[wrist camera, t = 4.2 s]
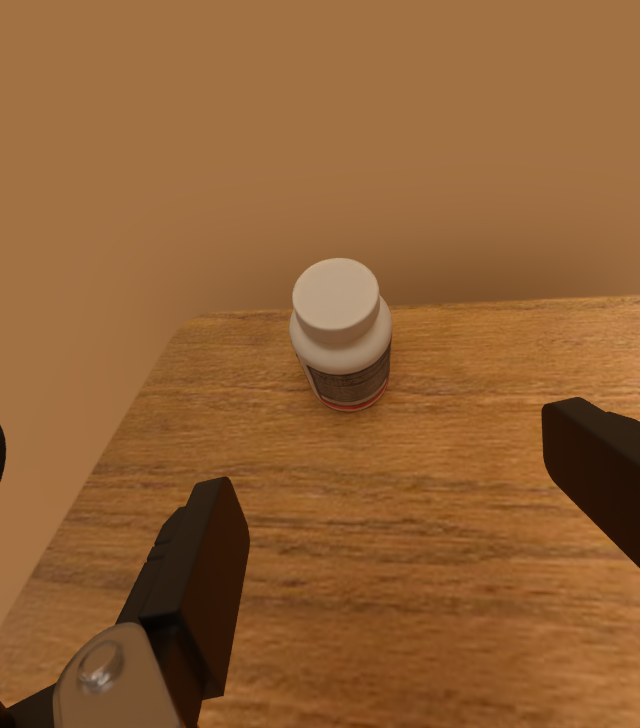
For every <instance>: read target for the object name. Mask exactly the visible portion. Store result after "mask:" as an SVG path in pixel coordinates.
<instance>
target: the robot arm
mask: <svg viewBox="0 0 640 728" xmlns="http://www.w3.org/2000/svg"><path fill="white" fill-rule="evenodd" d="M542 437H543V457H544V463H545V466H546V469H547V471H548V473H549V475H550V477H551V478H552V480H553V481H554V482H555V484H556V485H557V486H558V487H559V488H560V489H561V490H562V491H563V492H564V493H565V494H566V495H567V496H568V497H569V498H570V499H571V500H572V501H573V502H574V503H575V504H576V505H577V506H578V507H579V508H580V509H581V510H582V511H583V512H584V513H585V514H586V515H587V516H588V517H589V518H590V519H591V520H592V521H593V522H594V523H595V524H596V525H597V526H598V527H599V528H600V529H601V530H602V531H603V532H604V533H605V534H606V535H607V536H608V537H609V538H610V539H611V540H612V541H613V542H614V543H615V544H616V545H617V546H618V547H619V548H620V549H621V550H622V551H623V552H624V553H625V554H626V555H627V556H628V557H629V558H630V559H631V560H632V561H633V562H634V563H635V564H636V565H637V566H638V567H639V568H640V422H639V421H637V420H635V419H632V418H629V417H625V416H622V415H619V414H616V413H612V412H605V411H603V410H601V409H600V408H598V407H596V406H595V405H593V404H591V403H590V402H588V401H586V400H585V399H583V398H580V397H574V398H570V399H566V400H561V401H557V402H553V403H548V404H545V405H544V406H543V408H542ZM154 544H155V546H154V547H152V549H151V551H150V553H149V555H148V557H147V562H146V563H144V566H143V568H142V570H141V572H140V574H139V576H138V578H137V580H136V582H135V584H134V586H133V588H132V590H131V592H130V594H129V596H128V599H127V601H126V603H125V605H124V607H123V609H122V611H121V613H120V615H119V617H118V619H117V621H116V623H115V625H114V626H112V627H109V628H107V629H106V630H104V631H102V632H100V633H99V634H97V635H96V636H95V637H93V638H92V639H91V640H89V641H88V642H87V643H86V644H85V645H84V646H83V647H82V648H81V649H80V650H79V651H78V652H77V653H76V654H75V655H74V656H73V657H72V659H71V660H70V661H69V663H68V664H67V665H66V667H65V669H64V670H63V672H62V673H61V675H60V677H59V679H58V681H57V683H55V684H53V685H51V686H49V687H47V688H45V689H43V690H41V691H39V692H38V693H36V694H34V695H32V696H30V697H28V698H26V699H24V700H22V701H20V702H18V703H16V704H14V705H13V706H11V707H9V708H7V709H6V707H5V706H4V705H3V704H2V703H1V701H0V728H200V727H199V726H198V724H197V722H198V718H199V713H200V709H201V704H202V700H206V699H211V698H216V697H220V696H224V690H225V684H226V679H227V673H228V667H229V662H230V656H231V650H232V645H233V639H234V633H235V627H236V622H237V616H238V610H239V605H240V599H241V593H242V588H243V582H244V576H245V571H246V565H247V559H248V554H249V547H250V538H249V530H248V526H247V522H246V520H245V517H244V514H243V512H242V509H241V506H240V504H239V501H238V499H237V496H236V493H235V491H234V488H233V486H232V483H231V481H230V479H229V478H228V477H226V476H225V477H220V478H216V479H212V480H207V481H203V482H199V483H196V485H195V486H194V488H193V491H192V493H191V495H190V497H189V500H188V502H187V504H186V506H184V507H180V508H178V509H177V510H176V511H175V512H174V513H173V515H172V516H171V517H170V518H169V519H168V520H167V521H166V522H165V523H164V525H163V526H162V528H161V530H160V533H159V535H158V537H157V539H156V541H155V543H154Z"/></svg>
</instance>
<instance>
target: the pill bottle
mask: <svg viewBox="0 0 640 728" xmlns="http://www.w3.org/2000/svg"><path fill="white" fill-rule="evenodd" d="M292 300H293V306H294V310H293V313H292V316H291V319H290V326H289V332H290V338H291V343H292V346H293V348H294V350H295V352H296V356H297V357H298V359H299V361H300V363H301V365H302V368H303V370H304V372H305V375H306V377H307V379H308V381H309V384H310V386H311V387H312V390H313V392H314V393H315V395H316V396H317V397H318V399H319V400H320V401H321V402H323V403H324V404H325V405H327V406H328V407H330V408H332V409H336V410H340V411H347V412H348V411H358V410H361V409H364V408H367V407H369V406H370V405H372V404H373V403H375V402H376V401H377V400H378V399H379V398H380V397H381V395H382V394H383V392H384V391H385V389H386V386H387V383H388V378H389V366H390V352H391V338H392V319H391V314H390V311H389V308H388V306H387V304H386V303H385V301H384V300H383V298H382V297H381V296H380V295H379V287H378V283H377V280H376V278H375V276H374V275H373V273H372V272H371V271H370V270H369V269H368V268H367V267H366V266H364V265H363V264H361V263H359V262H357V261H354V260H350V259H345V258H332V259H327V260H324V261H321V262H318V263H316V264H314V265H312V266H311V267H309V268H308V269H307V270H306V271H305V272H304V273H303V274H302V275H301V276H300V277H299V279H298V280H297V282H296V284H295V287H294V289H293V295H292Z"/></svg>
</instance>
